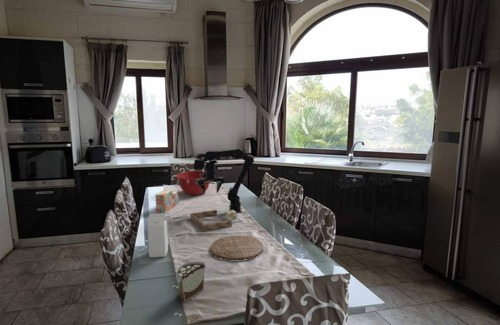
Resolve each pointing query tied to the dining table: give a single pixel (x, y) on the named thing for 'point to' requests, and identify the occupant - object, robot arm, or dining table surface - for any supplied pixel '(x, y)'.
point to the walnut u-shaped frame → (209, 226)
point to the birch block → (231, 215)
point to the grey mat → (231, 219)
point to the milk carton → (157, 235)
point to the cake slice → (190, 279)
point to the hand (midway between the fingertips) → (210, 193)
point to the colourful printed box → (166, 200)
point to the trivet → (237, 247)
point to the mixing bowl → (191, 182)
